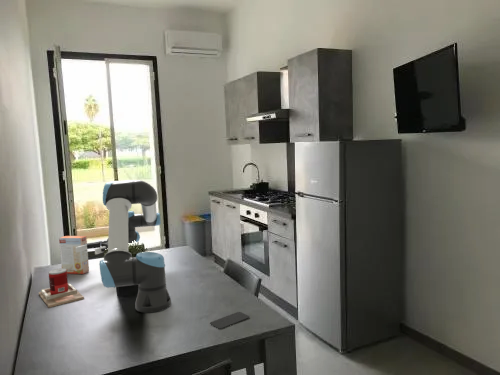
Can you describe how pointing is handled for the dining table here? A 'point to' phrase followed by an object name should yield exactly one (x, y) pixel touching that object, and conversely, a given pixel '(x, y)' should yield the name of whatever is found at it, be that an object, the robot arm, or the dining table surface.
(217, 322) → the phone
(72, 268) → the cracker box
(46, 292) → the board
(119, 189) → the robot arm
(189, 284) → the dining table surface
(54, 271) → the canned food
